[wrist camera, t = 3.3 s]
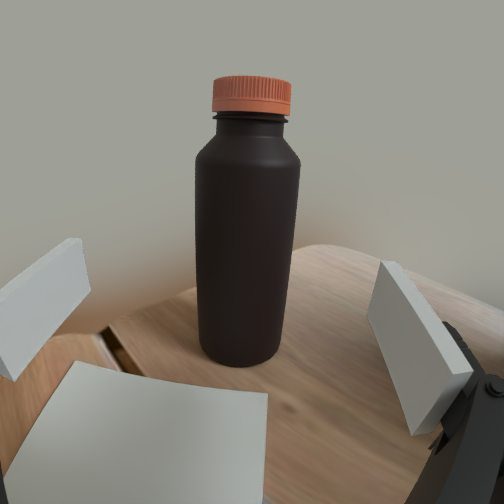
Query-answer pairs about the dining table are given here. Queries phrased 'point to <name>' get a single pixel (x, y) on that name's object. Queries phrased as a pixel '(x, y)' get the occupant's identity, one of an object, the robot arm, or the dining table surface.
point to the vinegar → (245, 221)
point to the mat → (141, 443)
